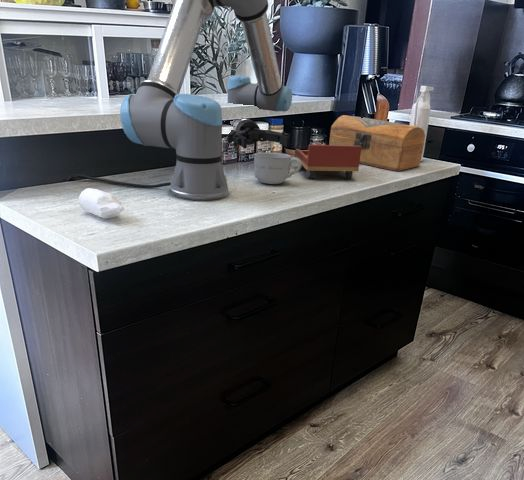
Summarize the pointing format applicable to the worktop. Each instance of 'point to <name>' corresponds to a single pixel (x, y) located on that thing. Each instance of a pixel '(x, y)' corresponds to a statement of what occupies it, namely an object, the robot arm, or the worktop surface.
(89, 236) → the worktop surface
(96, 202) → the roll
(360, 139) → the wooden box
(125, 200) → the worktop surface
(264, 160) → the teacup
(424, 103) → the white spray bottle
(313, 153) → the cart
